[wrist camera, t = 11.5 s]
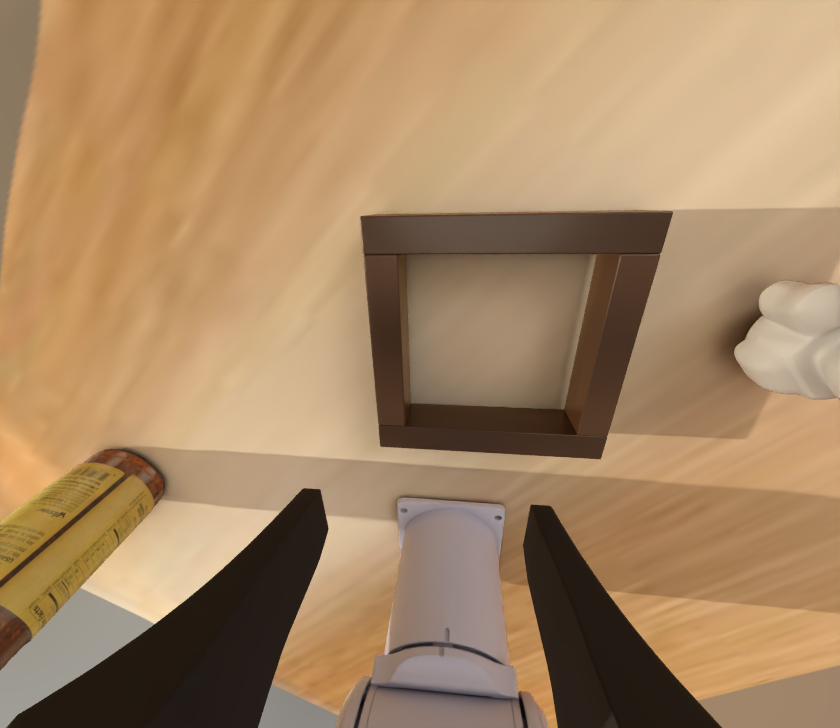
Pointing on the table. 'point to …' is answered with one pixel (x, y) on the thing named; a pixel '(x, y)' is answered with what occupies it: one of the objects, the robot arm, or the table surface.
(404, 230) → the brown wooden square frame
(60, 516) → the sauce bottle
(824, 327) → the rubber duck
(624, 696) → the robot arm
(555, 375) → the table surface
